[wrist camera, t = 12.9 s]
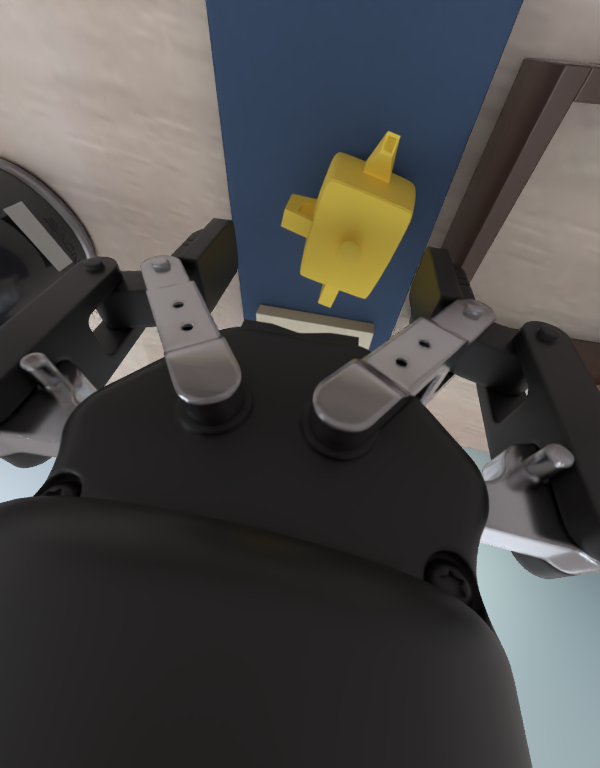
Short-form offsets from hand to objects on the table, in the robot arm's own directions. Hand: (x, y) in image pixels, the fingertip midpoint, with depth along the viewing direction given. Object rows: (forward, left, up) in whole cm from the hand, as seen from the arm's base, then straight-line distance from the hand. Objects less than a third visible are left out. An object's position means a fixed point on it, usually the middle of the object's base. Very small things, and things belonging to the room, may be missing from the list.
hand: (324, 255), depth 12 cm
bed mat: (-1, -1, -7) cm, 7 cm away
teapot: (0, 0, -6) cm, 6 cm away
